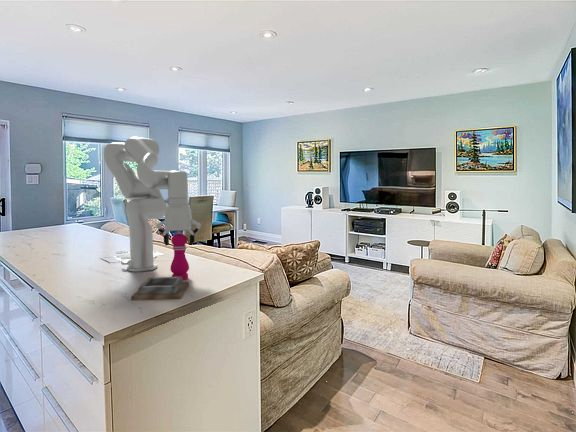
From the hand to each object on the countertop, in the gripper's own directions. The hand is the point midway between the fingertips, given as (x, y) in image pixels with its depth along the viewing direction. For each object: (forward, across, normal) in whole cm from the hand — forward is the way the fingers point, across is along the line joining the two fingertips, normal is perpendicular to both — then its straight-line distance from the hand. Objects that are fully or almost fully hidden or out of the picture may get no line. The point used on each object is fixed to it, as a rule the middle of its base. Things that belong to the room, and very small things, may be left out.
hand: (179, 244), depth 140 cm
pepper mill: (+14, 0, 0) cm, 14 cm away
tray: (+15, -32, +44) cm, 57 cm away
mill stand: (+14, -3, -17) cm, 22 cm away
